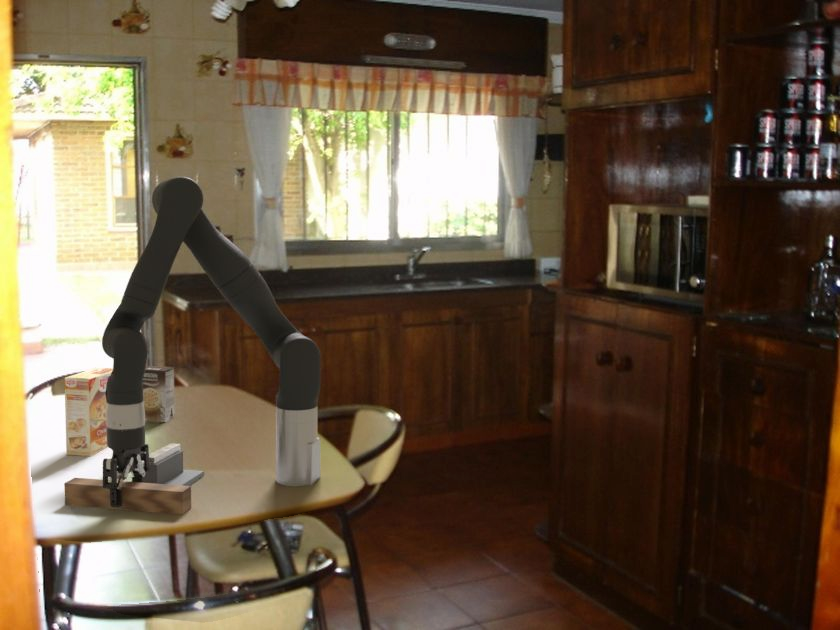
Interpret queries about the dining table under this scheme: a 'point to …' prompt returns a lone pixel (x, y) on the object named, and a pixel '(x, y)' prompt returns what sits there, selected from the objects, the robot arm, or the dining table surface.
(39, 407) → the dining table surface
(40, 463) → the dining table surface
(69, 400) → the coffeecake box
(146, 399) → the coffee box
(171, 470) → the fulcrum
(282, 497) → the dining table surface
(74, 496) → the batten
